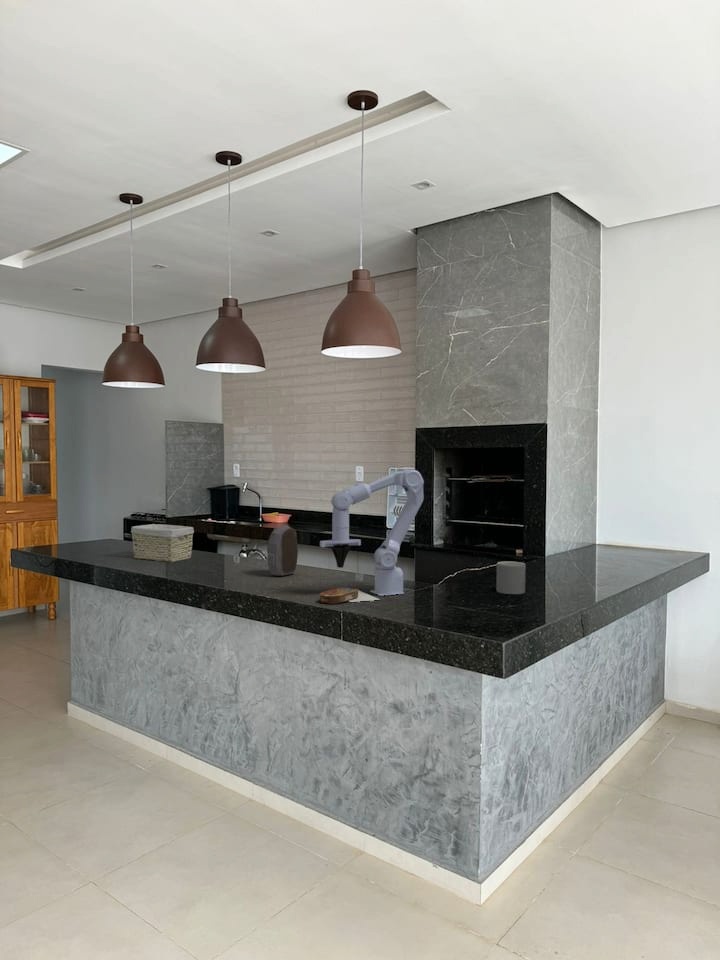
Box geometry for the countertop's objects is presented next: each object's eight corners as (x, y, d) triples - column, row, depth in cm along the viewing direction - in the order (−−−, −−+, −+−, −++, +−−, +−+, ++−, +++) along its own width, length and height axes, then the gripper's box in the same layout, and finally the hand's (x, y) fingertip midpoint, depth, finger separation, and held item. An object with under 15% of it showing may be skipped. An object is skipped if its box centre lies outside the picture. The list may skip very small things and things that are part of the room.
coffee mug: (518, 595, 243) (519, 566, 243) (491, 592, 249) (492, 563, 249) (532, 589, 255) (533, 562, 254) (506, 586, 260) (507, 559, 260)
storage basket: (195, 558, 321) (195, 526, 320) (172, 563, 306) (172, 529, 306) (153, 554, 331) (153, 523, 330) (129, 559, 316) (129, 526, 315)
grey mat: (354, 589, 250) (354, 588, 250) (379, 600, 231) (380, 599, 231) (327, 591, 245) (327, 590, 245) (350, 603, 227) (350, 601, 227)
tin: (344, 586, 239) (363, 586, 234) (345, 595, 240) (364, 596, 234) (314, 594, 228) (333, 595, 223) (314, 603, 228) (334, 605, 223)
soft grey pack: (278, 578, 270) (278, 526, 270) (260, 576, 274) (261, 525, 274) (300, 573, 283) (301, 523, 283) (283, 571, 287) (284, 522, 287)
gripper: (354, 525, 247) (354, 564, 247) (316, 527, 240) (316, 566, 241) (363, 527, 240) (363, 567, 241) (324, 529, 234) (324, 569, 234)
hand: (340, 567), depth 240 cm, fingers closed
